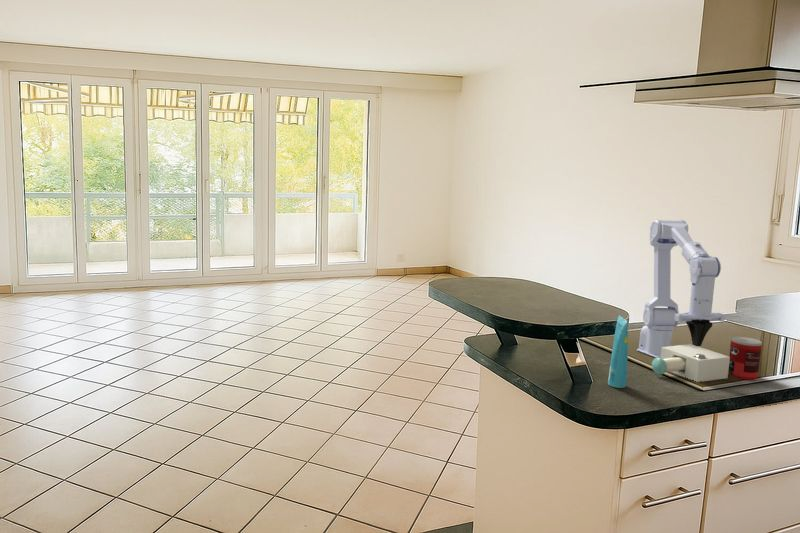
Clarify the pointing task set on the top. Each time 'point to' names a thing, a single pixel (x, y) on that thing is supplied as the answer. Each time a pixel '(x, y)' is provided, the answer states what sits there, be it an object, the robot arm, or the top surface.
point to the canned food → (744, 358)
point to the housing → (698, 362)
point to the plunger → (700, 356)
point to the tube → (619, 355)
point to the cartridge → (668, 365)
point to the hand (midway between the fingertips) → (696, 345)
